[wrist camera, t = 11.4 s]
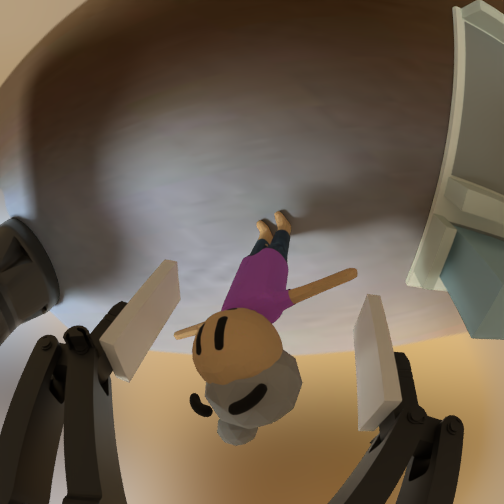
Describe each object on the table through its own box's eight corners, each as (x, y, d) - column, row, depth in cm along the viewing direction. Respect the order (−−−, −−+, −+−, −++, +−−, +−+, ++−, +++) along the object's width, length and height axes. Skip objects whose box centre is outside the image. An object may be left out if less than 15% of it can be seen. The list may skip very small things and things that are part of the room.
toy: (327, 176, 18) (356, 345, 5) (358, 240, 20) (397, 431, 7) (209, 237, 22) (104, 390, 10) (245, 288, 24) (184, 449, 11)
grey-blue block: (434, 268, 19) (471, 338, 12) (451, 224, 17) (503, 284, 10) (489, 280, 18) (527, 339, 11) (506, 241, 16) (554, 295, 9)
